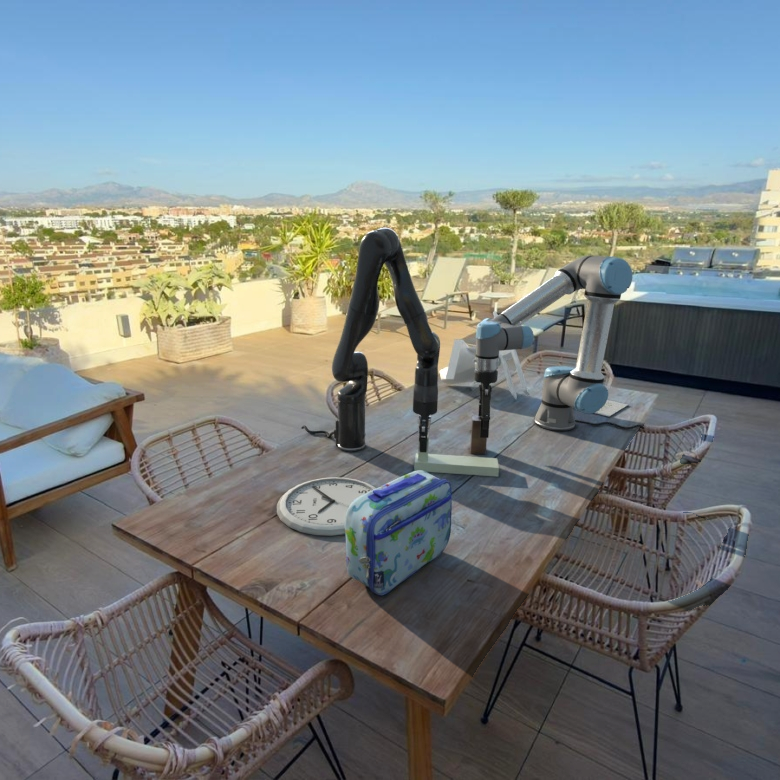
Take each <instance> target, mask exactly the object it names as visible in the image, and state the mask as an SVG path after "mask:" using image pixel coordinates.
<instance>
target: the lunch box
mask: <svg viewBox="0 0 780 780" xmlns="http://www.w3.org/2000/svg"><path fill="white" fill-rule="evenodd" d="M452 503H453V501H452V484H451V483H450V481H449V480H448V479H445V478H438V477H436V476H435V475H433V474H431V473H430V472H425V471H422V470H417V471H414V470H413V471H411V472H409V473H407V474H404V475H402V476H399V477H398V478H396V479H393V480H391V481H388V482H387V483H385V484H382V485H381V486H379V487H376V489H374V490H372V491H370V492H368V493H366V494H364V495H362V496H360V497H358V498H356V499H355V500H354V501H353V502H352V503H351V505H350V506H349V508H348V510H347V513H346V517H345V534H344V535H345V561H346V571H347V574H348V576H349V577H350V578H352V579H354V580H356V581H358V582H359V583H361V584H363V585H364V586H366V587H367V588H369V590H370V591H371V592H372V593H374V594H376V595H378V596H385V595H386V594H389V593H390V592H391V591H392V590H393V589H395V588H396V587H397V586H398V585H400V584H401V583H402V582H404V581H405V580H407V579H409V578H410V577H411V576H412V575H414V574H415V573H416V572H418V571H419V570H420V569H421V568H422V567H424V566H425V565H427V564H428V563H430V562H431V561H433V560H435V559H436V558H438V557H440V556H441V554H442V553H443V552H444V551H445V549H446V548H447V546H448V543H449V540H450V537H451V533H452V532H451V531H452V511H453V510H452V509H453V508H452V507H453V504H452Z"/></svg>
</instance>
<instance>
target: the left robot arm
mask: <svg viewBox="0 0 780 780" xmlns="http://www.w3.org/2000/svg"><path fill="white" fill-rule="evenodd" d="M384 265H385V267H386V268H387V271H388V273H389V275H390V279H391V282H392V289H393V297H394V302H395V306H396V308H397V311H398V313H399V315H400V317H401V320H402V321H403V324H404V326H405V327H406V330H407V333H408V336H409V340H410V342H411V345H412V347H413V350H414V351H415V353H416V366H415V368H414V385H413V392H412V394H413V395H412V412H413V413H414V414H416V415H418V419H417V424H418V426H417V427H418V428H417V433H418V443H419V442H420V452H426V451H427V441H428V439H427V438H428V434H429V435H430V431H431V424H432V416H433V415H436V414H437V412H438V404H439V403H438V402H439V386H438V385H439V384H438V383H439V381H438V380H439V361H440V353H441V352H440V351H441V340H440V337H439V335H438V334H437V333H435V332H434V331H432V328H431V326H430V324H429V318H428V314H427V312H426V310H425V308H424V305H423V304H422V302H421V299H420V297H419V294H418V292H417V290H416V287H415V285H414V282H413V279H412V277H411V274H410V271H409V267H408V263H407V261H406V257H405V254H404V250H403V247H402V244H401V241H400V238H399V236H398V234H397V233H396V232H395V231H394V230H393V229H392V228H389V227H381V228H377V229H375V230H371V231H369V232H367V233H366V234H365V235H364V236H363V237H362V238H361V241H360V244H359V248H358V255H357V264H356V271H355V277H354V280H353V285H352V289H351V294H350V298H349V302H348V305H347V310H346V314H345V319H344V324H343V327H342V331H341V335H340V339H339V340H338V344H337V346H336V350H335V353H334V355H333V358H332V362H331V373H332V377H333V378H334V380H335V381H336V382H339V383H345V382H347V383H346V385H344V386H343V387H342V388H340V389H339V390H338V392H337V419H336V420H335V429H334V430H333V431H331V432H330V433H329V432H328V431H326V430H310V429H309V428H308V427H307V426H306V425H302V426H301V427H300V429H301V430H302V429H304V430H305V431H306V433H308V434H310V435H311V434H312V435H314V434H315V435H316V434H325V435H326V437H327V438H328V439H331V438H332V437H333V439H334V440H335V447H337V448H338V449H339V450H341V451H345V452H359V451H362V450H363V449H365V448H366V435H367V434H366V433H367V432H366V395H367V392H368V380H369V379H368V377H369V363H368V359H367V357H366V355H365V354H364V353H363V352H361V351H356V349H357V347H358V346H359V345H360V343H361V342H363V340H364V339H365V338H366V336H367V335H368V334H369V333H370V332H371V330H372V329H373V327H374V326H375V324H376V321H377V318H378V317H377V316H378V313H379V309H380V296H379V295H380V294H379V288H378V285H379V279H380V276H381V272H382V269H383V267H384ZM421 436H425V437H426V438H425V437H421Z"/></svg>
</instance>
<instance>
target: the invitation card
mask: <svg viewBox="0 0 780 780" xmlns="http://www.w3.org/2000/svg"><path fill="white" fill-rule="evenodd" d="M628 406H629V404H627V403H623V402H618V401H614V400H609V399H607V401H606V403H605V405H604V406H603V407H602V408H600V410H599V411H597V412H595V413H594V414H596V415H600V416H604V417H608V418H609V417H611V416H613V415H614V414H616V413H617V412H619V411H621V410H623V409H624V408H626V407H628Z"/></svg>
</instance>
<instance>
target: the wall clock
mask: <svg viewBox="0 0 780 780" xmlns="http://www.w3.org/2000/svg"><path fill="white" fill-rule="evenodd" d="M376 488H377V487H376V486H374V485H372V484H371V483H369V482H365V481H362V480H359V479H355V478H349V477H338V476H337V477H335V476H333V477H332V476H331V477H322V478H317V479H312V480H307V481H305V482H302V483H299V484H297V485H295V486H293V487H292V488H290V489H288V490H287V491H286V492H285V493H284V494H283V495H281V496H280V498H279V499H278V502H277V503H276V515H277V517H278V518H279V520H280V521H281V522H282V523H283V524H285V525H286V526H287V527H288V528H290V529H293V530H295V531H297V532H299V533H303V534H308V535H312V536H327V537H328V536H329V537H331V536H332V537H333V536H342V535H345V517H346V513H347V510H348V508H349V506H350V505H351V503H352V502H353V501H354V500H355V499H356V498H358V497H360V496H362V495H364V494H366V493H368V492H370V491H372V490H374V489H376Z"/></svg>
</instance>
